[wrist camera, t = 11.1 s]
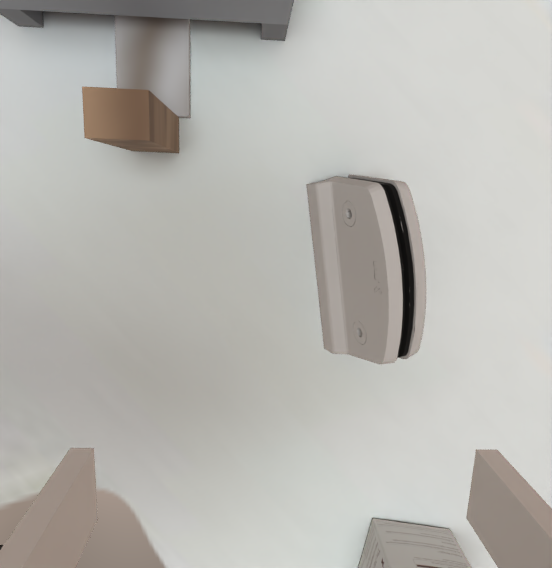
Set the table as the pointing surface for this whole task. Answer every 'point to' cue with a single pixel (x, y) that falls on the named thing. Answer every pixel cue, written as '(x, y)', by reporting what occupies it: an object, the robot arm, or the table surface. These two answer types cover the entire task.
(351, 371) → the table surface
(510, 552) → the robot arm
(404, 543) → the supplement box
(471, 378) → the table surface
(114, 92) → the wooden block bookend
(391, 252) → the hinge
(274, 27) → the low cabinet
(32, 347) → the table surface
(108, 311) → the table surface
